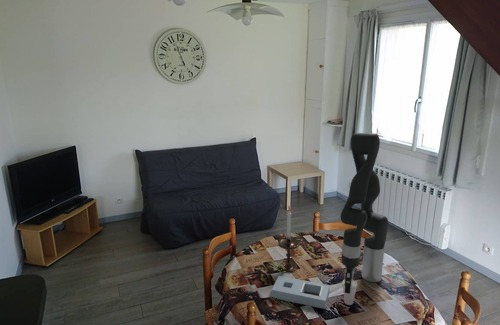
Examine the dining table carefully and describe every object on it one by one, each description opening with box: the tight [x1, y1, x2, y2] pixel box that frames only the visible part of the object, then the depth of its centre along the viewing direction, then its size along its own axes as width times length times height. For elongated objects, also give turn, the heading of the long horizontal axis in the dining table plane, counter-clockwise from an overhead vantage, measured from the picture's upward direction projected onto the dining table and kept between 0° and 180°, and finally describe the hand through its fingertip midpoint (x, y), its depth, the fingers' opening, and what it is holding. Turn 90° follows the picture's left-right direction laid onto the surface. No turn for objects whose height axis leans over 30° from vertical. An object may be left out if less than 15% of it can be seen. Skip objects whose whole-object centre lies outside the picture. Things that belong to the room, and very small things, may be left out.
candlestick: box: [277, 205, 300, 273], centre depth 175 cm, size 11×11×35 cm
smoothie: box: [341, 279, 358, 306], centre depth 149 cm, size 6×6×14 cm
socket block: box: [271, 275, 331, 310], centre depth 156 cm, size 12×24×4 cm, turn 70°
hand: (348, 287), depth 149 cm, fingers open, 8 cm apart
